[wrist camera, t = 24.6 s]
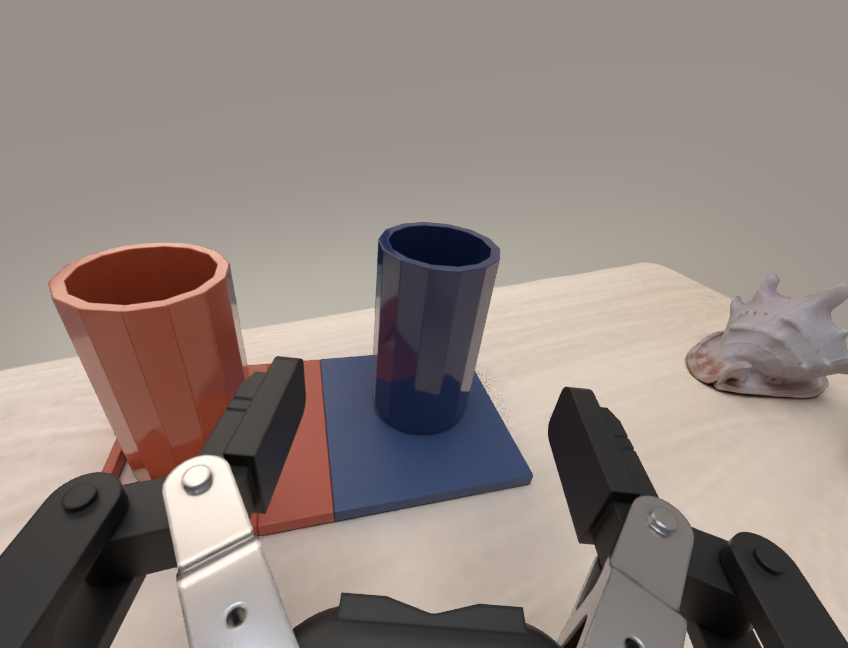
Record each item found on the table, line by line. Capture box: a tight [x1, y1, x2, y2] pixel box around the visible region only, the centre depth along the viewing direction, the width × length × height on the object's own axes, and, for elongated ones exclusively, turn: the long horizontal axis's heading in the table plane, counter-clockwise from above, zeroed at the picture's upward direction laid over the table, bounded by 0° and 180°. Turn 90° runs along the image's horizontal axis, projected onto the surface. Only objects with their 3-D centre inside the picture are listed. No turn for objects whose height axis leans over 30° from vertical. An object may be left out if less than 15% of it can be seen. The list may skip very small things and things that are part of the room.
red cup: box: [49, 242, 249, 482], centre depth 20 cm, size 6×6×11 cm
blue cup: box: [371, 222, 500, 435], centre depth 24 cm, size 6×6×11 cm
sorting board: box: [102, 355, 533, 536], centre depth 24 cm, size 22×12×1 cm, turn 105°
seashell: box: [687, 274, 848, 398], centre depth 32 cm, size 10×12×9 cm
